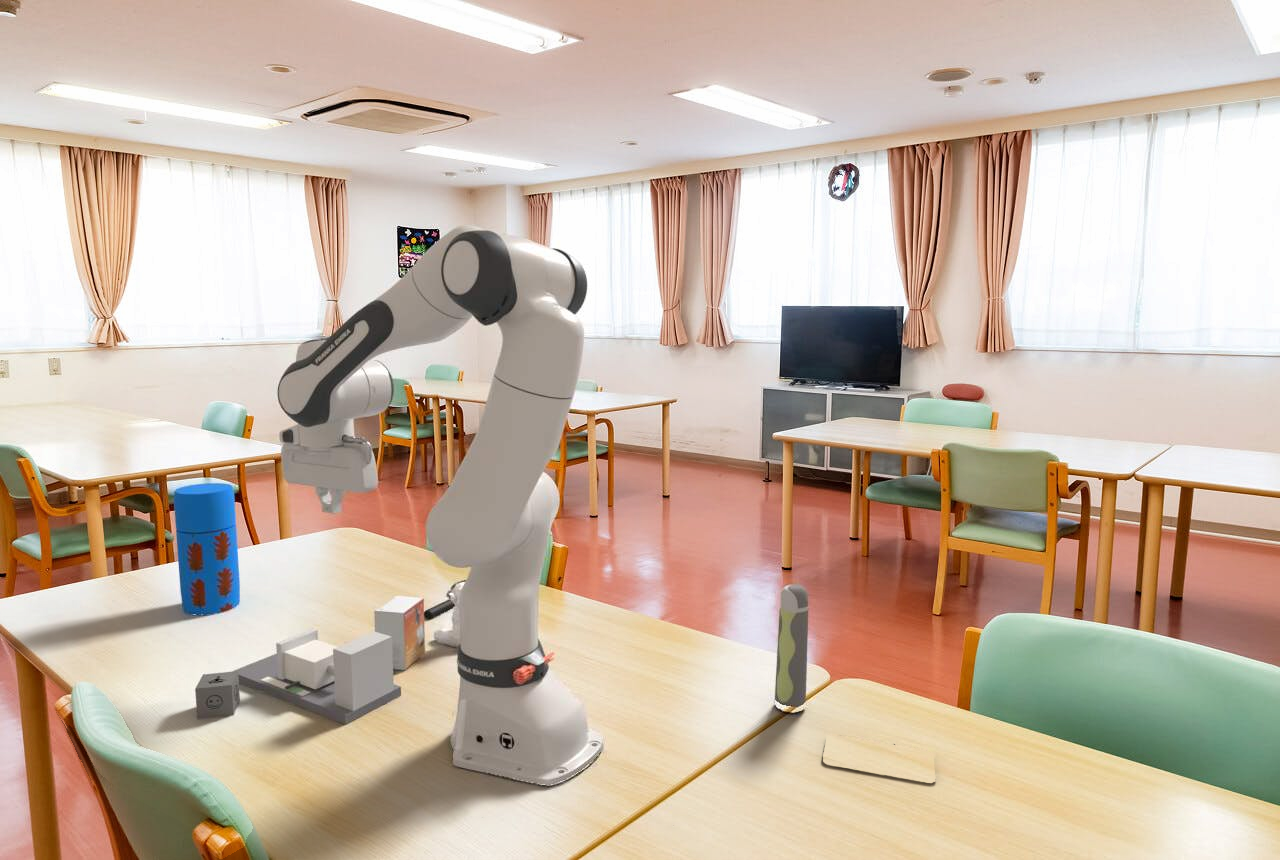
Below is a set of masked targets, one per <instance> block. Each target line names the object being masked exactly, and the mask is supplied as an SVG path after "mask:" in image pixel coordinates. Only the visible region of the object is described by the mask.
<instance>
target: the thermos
mask: <svg viewBox="0 0 1280 860" xmlns="http://www.w3.org/2000/svg"><path fill="white" fill-rule="evenodd" d="M233 487H234V486H233V485H232V484H229V483H221V482H211V483H196V484H190V485H189V484H188V485H186V486H181V487H178V488H176V489H175V490H174V492H173V506H174V507H173V509H174V519H175V534H176V535H175V536H176V547H177V548H176V549H177V560H178V562H177V563H178V573H179V576H178V578H179V588H180V596H181V597H180V599H181V604H182V611H183V610H184V611H183V613H184V612H185V613H184V614H187V613H188V614H187V615H189V614H196V615H195V616H208V615H207V614H211V615H215V614H214V613H218V614H221V613H220V612H222V613H225V612H224V611H226V612H228V611H231V610H233V609H235V608H237V607H238V606H239V605H240V603H239V602H241V601H240V600H241V597H240V596H241V589H240V588H241V587H240V586H241V584H240V568H239V566H240V565H239V550H238V549H239V548H238V535H237V533H238V532H237V518H236V503H235V502H236V501H235V492H234V488H233ZM237 605H238V606H237ZM236 606H237V607H236ZM234 607H235V608H234ZM232 608H233V609H232ZM230 609H231V610H230ZM227 610H228V611H227ZM201 614H203V615H201Z"/></svg>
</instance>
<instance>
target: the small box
mask: <svg viewBox="0 0 1280 860" xmlns="http://www.w3.org/2000/svg"><path fill="white" fill-rule="evenodd" d="M424 601H425V599H424V598H423V597H415V596H405V595H395V596H394V597H393V598H392V599H391V600H389V601H387V602H386V603H385V604H383V605H382V606H380V607H379V608H377V609H375V610H374V612H373V613H374V616H373V617H374V632H378V633H381V634H384V635H388V636H391V637H392V653H393V670H396V671H406V670H407V669H408V668H409V667H410V666H412V665H413V663H415V662H416V661H417V660H418V659H419V658H421V657H422V656H423V655H425V653H426V643H425V642H426V639H425V638H426V637H425V618H424V612H425V602H424Z"/></svg>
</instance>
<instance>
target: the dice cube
mask: <svg viewBox="0 0 1280 860" xmlns="http://www.w3.org/2000/svg"><path fill="white" fill-rule="evenodd" d="M194 691H195V705H196V716H197V717H196V719H197V720H203V719H211V718H213V719H214V718H220V717H221V718H222V717H230V716H235V714H236V711H237V708H238V706H239V704H240V701H241V695H240V683H239V677H238V671H234V670H232V671H224V672H223V671H222V672H214V673H205V674H202V676H201V677H200V679H199V681H198V683H197V685H196V687H195V688H194Z"/></svg>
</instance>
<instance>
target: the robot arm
mask: <svg viewBox="0 0 1280 860" xmlns="http://www.w3.org/2000/svg"><path fill="white" fill-rule="evenodd" d="M587 292H588V278H587V274H586V271H585V269H584V267H583V265H582V264H581V262H580V261H578V260H577V259H576V258H575V257H574V256H572V255H571V254H569V253H567V252H566V251H564V250H562V249H559V248H554V247H552V248H551V247H549V246H547V245H545V244H544V245H543V244H541V243H539V242H535V241H533V240H531V239H529V238H526V237H522V236H517V235H511V234H503V233H496V232H494V231H491V230H487V229H486V230H485V229H483V228H482V227H480V226H477V225H472V224H463V225H460V226H456V227H455V228H452V230H450V231H448V232H447V233H446V234H444V235H443V236H442V237H441V238H439V239H438V240H437V241H436V242H435V243H434V244H433V245H431V247H429V248H428V250H426V251H425V252H424V253H423V255H422V256H420V258H419V259H417V261H416V262H415V263H414V265H413V266H412V267H411V268H410V269H409V271H407V273H405V274H404V275H403V276H402V277H401V278H400V279H399V280H397V282H395V284H393V285H392V286H391V287H390V288H388V289H387V290H386V291H385V292H384V293H382V294H381V295H379V296H378V297H376V298H375V299H373V301H371V302H369V303H367V304H366V305H364V306H363V307H362V308H360V309H359V310H358V311H356V312H355V313H354V314H353V315H352V316H350V317H349V318H348V319H347V320H346V321H345V322H344V323H343V324H341V326H340V327H338V329H336V330H335V331H334V333H332V334H331V335H330V336H329V337H322V338H317V339H315V338H314V339H309V340H306V341H304V342H302V343H301V344H300V345H298V347H297V350H296V355H295V361H294V362H293V363H291V364H290V365H289V366H288V367H287V368H286V370H284V372H283V373H282V376H281V378H280V380H279V382H278V385H277V394H276V395H277V399H278V404H279V406H280V407H281V410H283V412H284V413H285V415H287V416H288V417H289V418H290V419H291V420H292V421H294V422H295V423H297V424H294V425H293V426H290V427H286V428H285V429H282V430H280V431H279V435H278V437H279V441H280V443H281V444H283V445H282V446H281V449H280V457H281V458H280V460H281V471H282V476H283V478H284V480H285V482H286V483H288V484H293V485H294V484H295V485H302V486H308V487H315V493H316V495H317V497H318V499H319V501H320V503H321V512H323V513H324V514H325V513H328V514H333V515H337V514H340V513H341V512H342V508H343V507H342V503H343V500H344V498H345V496H346V492H351V493H352V492H353V493H360V494H362V493H363V494H364V493H367V492H371V491H375V490H376V488H377V487H378V484H379V475H378V470H377V469H378V468H377V464H376V458H375V454H374V452H373V448H372V447H373V446H372V445H371V444H370V442H369V441H368V440H366V438H365V437H364V436H355V430H354V429H355V425H354V424H355V423H354V420H355V419H356V420H357V419H359V418H360V419H361V418H366V417H372V416H376V415H379V414H383V413H384V412H386V411H387V410H388V408H390V406H391V404H392V402H393V398H394V396H395V395H394V394H395V385H394V380H393V376H392V374H391V372H390V370H389V369H388V368H387V367H386V365H385V364H384V363H382V362H381V361H379V360H374V359H373V358H375V357H378V356H380V355H382V354H385V353H387V352H392V351H395V350H399V349H400V350H401V349H404V348H409V347H414V346H416V347H417V346H421V345H427V344H433V343H436V342H440V341H442V340H446V338H448V337H450V336H452V335H453V334H455V333H456V332H458V331H459V330H460V329H462V327H464V326H465V325H466V324H467V323H468V321H470V319H471V318H472V317H474V318H475V319H476V320H477V322H478V323H480V324H481V325H482V326H491V325H494V324H497V325H498V327H499V330H500V332H501V337H502V343H501V348H500V353H499V357H498V359H497V363H496V366H495V370H494V373H493V377H492V380H491V384H490V388H489V392H488V394H487V399H486V403H485V406H484V410H483V412H482V413H483V414H482V415H481V420H480V423H479V426H478V428H477V431H476V433H475V435H474V438H473V440H472V442H471V444H470V446H469V447H468V449H467V452H466V454H465V456H464V457H463V460H462V461H461V464H460V465H459V468H458V469H457V471H456V473H455V475H454V477H453V478H452V481H451V482H450V484H449V486H448V488H447V489H446V490H445V492H444V493H443V494H442V496H441V497H440V499H439V500H438V501H436V503H435V504H434V505H433V507H432V508H431V510H430V511H429V513H428V515H427V519H426V524H425V525H426V526H425V532H426V538H427V541H428V544H429V546H430V549H431V550H432V552H433V553H434V554H435V556H437V558H438V559H439V560H440V561H442V562H443V563H445V564H446V565H448V566H451V567H454V568H458V569H459V568H460V569H465V568H466V569H467V568H470V570H469V572H468V576H467V578H466V579H465V580H466V581H465V583H464V585H463V587H462V590H461V593H460V644H459V646H458V648H457V658H456V664H457V673H458V675H459V677H460V679H459V691H458V700H457V701H458V702H457V710H456V715H455V716H456V717H455V721H454V726H453V729H452V732H451V736H450V745H451V747H452V749H453V753H452V764H453V766H455V767H458V768H463V769H467V770H470V771H476V772H481V773H484V772H485V774H488V773H491V774H490V775H493V774H494V775H493V776H497V775H499V776H498V777H502V776H505V777H504V778H506V777H509V778H508V779H511V778H515V779H518V780H517V781H520V780H523V781H522V782H524V781H528V782H527V783H529V782H533V783H539V784H545V785H550V786H552V785H551V784H554V785H556V784H555V783H558V782H560V781H563V780H566V779H567V778H569V777H571V776H572V775H574V774H576V773H577V772H579V771H581V770H582V769H583V768H585V767H586V766H587V765H588V764H590V762H592V761H593V760H594V759H595V758H596V757H597V755H598V754H599V753H600V752H601V753H602V751H603V749H602V748H604V745H603V741H604V736H603V734H601V733H599V732H597V731H595V729H592V728H590V727H588V720H587V714H586V710H585V707H584V705H583V703H582V702H581V701H580V699H578V698H577V697H576V696H575V695H574V693H573V692H572V690H570V689H569V688H567V687H566V686H565V685H564V683H562V682H561V680H559V678H557V677H556V676H555V674H554V673H553V672H552V671H551V670H550V669H549V668H550V667H549V663H550V662H552V661H554V659H555V658H554V657H553V656H554V654H555V652H554V651H553V652H550V653H549V654H546V655H545V651H544V648H543V646H542V643H541V641H540V639H539V592H540V585H541V584H540V583H541V577H542V574H543V573H542V572H543V566H544V562H545V558H546V554H547V553H546V552H547V548H548V547H547V546H548V541H549V537H550V532H551V529H552V525H553V522H554V521H555V518H556V516H557V514H558V511H559V508H560V504H561V503H560V501H561V499H560V492H559V489H558V486H557V484H556V482H555V480H553V478H551V476H550V475H549V474H547V473H546V472H544V470H545V469H546V467H547V466H548V464H549V463H550V462H551V460H552V458H553V457H554V456H555V454H556V453H557V451H558V449H559V447H560V443H561V440H562V436H563V433H564V430H565V425H566V424H567V423H566V422H567V420H568V417H569V413H570V409H571V406H572V403H573V398H574V395H575V393H576V392H575V391H576V388H577V385H578V381H579V376H580V370H581V366H582V359H583V351H584V341H585V339H584V338H585V331H584V330H585V329H584V326H583V323H582V321H581V320H580V319H579V317H577V314H578V312H579V311H581V308H582V306H583V305H584V302H585V300H586V297H587ZM601 750H602V751H601ZM601 753H600V754H601ZM600 754H599V755H600ZM597 758H598V757H597ZM597 758H596V759H597ZM596 759H595V760H596ZM595 760H594V761H595ZM594 761H593V762H594ZM593 762H592V763H593ZM590 765H591V764H590ZM586 768H587V767H586ZM586 768H585V769H586ZM581 772H582V771H581ZM515 779H514V780H515ZM566 781H567V780H566ZM563 782H564V781H563ZM533 783H532V784H533ZM558 784H559V783H558Z"/></svg>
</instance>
